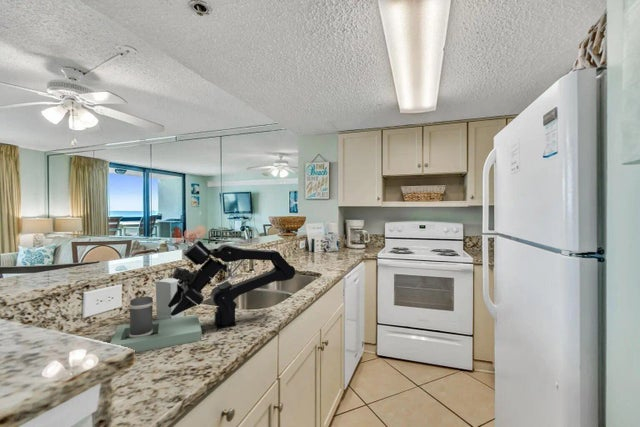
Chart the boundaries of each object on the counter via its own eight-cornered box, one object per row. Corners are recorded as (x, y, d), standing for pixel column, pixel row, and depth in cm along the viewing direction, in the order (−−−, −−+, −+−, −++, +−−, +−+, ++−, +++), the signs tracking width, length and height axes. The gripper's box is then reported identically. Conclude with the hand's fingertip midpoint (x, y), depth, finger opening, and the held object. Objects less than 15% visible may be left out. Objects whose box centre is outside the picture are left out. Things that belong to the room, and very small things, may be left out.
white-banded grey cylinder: (157, 337, 92) (157, 297, 92) (141, 346, 86) (141, 303, 86) (141, 335, 93) (141, 295, 93) (124, 343, 87) (124, 301, 87)
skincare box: (184, 317, 109) (184, 279, 109) (170, 323, 104) (170, 282, 104) (168, 314, 113) (169, 276, 113) (154, 319, 107) (155, 280, 107)
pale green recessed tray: (197, 322, 104) (197, 314, 104) (201, 340, 90) (201, 330, 90) (117, 335, 93) (118, 325, 93) (108, 357, 79) (108, 346, 79)
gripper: (184, 255, 104) (149, 289, 98) (192, 263, 89) (151, 304, 83) (206, 274, 109) (174, 307, 103) (218, 285, 93) (181, 325, 87)
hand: (170, 310), depth 94 cm, fingers open, 9 cm apart
